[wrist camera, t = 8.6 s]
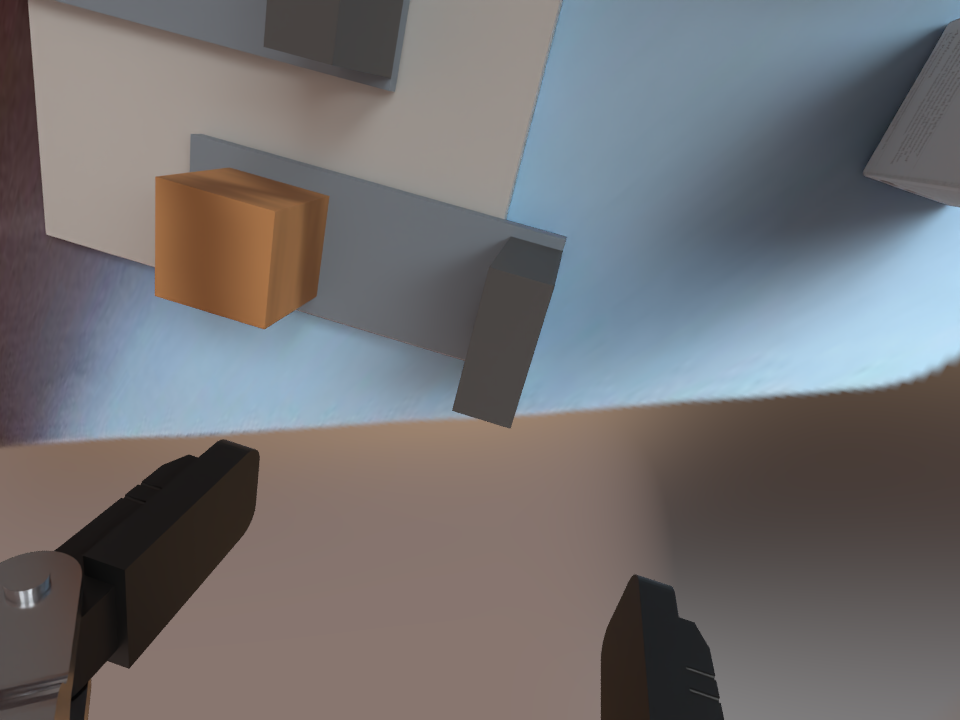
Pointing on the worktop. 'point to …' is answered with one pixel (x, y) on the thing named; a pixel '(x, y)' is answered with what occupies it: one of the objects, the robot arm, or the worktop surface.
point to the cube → (237, 244)
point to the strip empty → (285, 30)
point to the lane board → (278, 112)
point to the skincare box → (926, 130)
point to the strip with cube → (422, 273)
